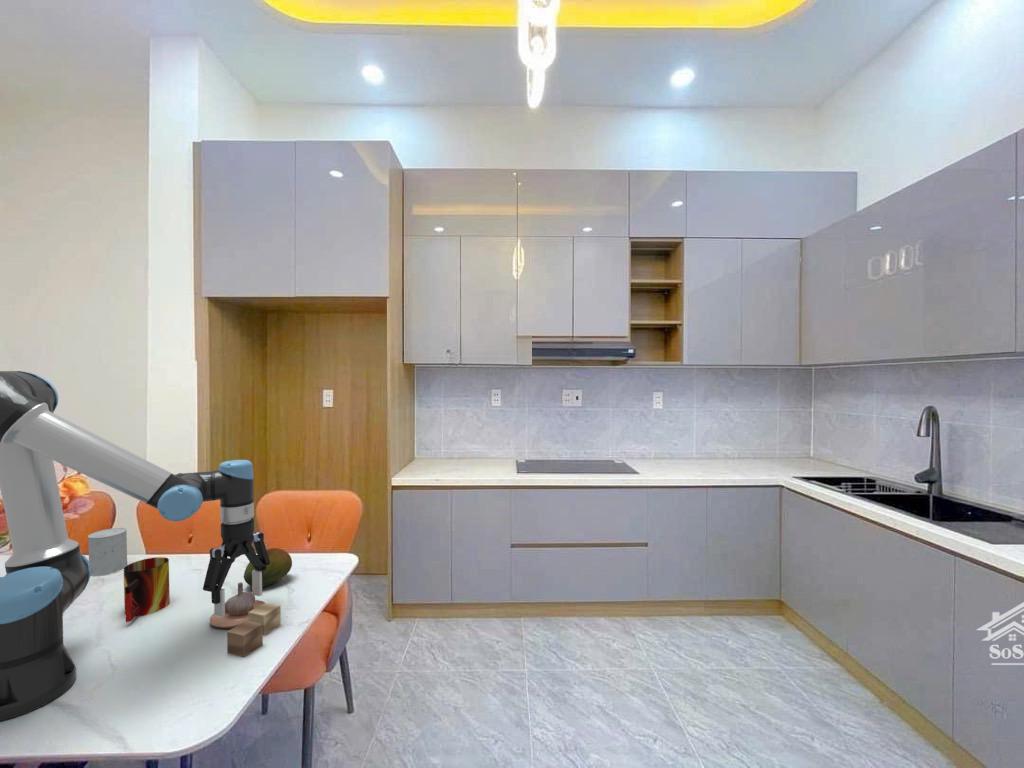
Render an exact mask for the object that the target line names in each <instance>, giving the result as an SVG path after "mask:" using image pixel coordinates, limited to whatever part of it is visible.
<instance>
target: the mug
mask: <svg viewBox="0 0 1024 768" xmlns="http://www.w3.org/2000/svg"><path fill="white" fill-rule="evenodd" d="M169 562H170V559H169V558H168V557H164V556H157V557H149V558H143V559H140V560H136V561H134V562H131V563H129V564H127V566H125V567H124V570H123V590H124V592H123V593H124V595H123V596H124V597H123V598H124V599H123V600H124V616H125V622H126V623H129V622H131V621H133V620H134V619H135V617H144V616H147V615H151V614H154V613H157V612H159V611H161V610H164V609H165V608H166V607H168V606H169V605H170V602H171V601H170V600H171V598H170V595H171V594H170V563H169Z"/></svg>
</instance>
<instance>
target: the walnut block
mask: <svg viewBox="0 0 1024 768" xmlns="http://www.w3.org/2000/svg"><path fill="white" fill-rule="evenodd" d="M263 636H264V635H263V630H262V624H260V623H255V622H251V621H247V620H246V621H245V622H243V623H241V624H239V625H238V626H236V627H234V628H230V629H228V630H227V631H226V642H227V643H226V647H227V649H226V650H227V654H230V655H234V656H237V657H241V658H246V657H247V656H249V655H250V654H252V653H253V652H254V651H256V650H258V649H259V648H261V647H262V646H264V642H263V641H264V639H263Z"/></svg>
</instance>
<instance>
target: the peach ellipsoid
mask: <svg viewBox="0 0 1024 768" xmlns="http://www.w3.org/2000/svg"><path fill="white" fill-rule="evenodd" d="M264 603H266V602H265V601H263V600H258V599H257V600H256V599H255V603H254V605H253V606H254V608H253V609H255V608H257V607H258V606H260V605H262V604H264ZM246 620H247V621H248V614H244V615H230V614H225V615H224V616H219V615H214V613H213V614H211V616H210V617H209V623H210V625H211V626H213V627H215V628H220V629H232V628H234V627H236V626H238V625H239V624H241V623H243V622H245V621H246Z"/></svg>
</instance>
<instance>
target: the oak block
mask: <svg viewBox="0 0 1024 768" xmlns="http://www.w3.org/2000/svg"><path fill="white" fill-rule="evenodd" d="M281 611H282V610H281V605H279V604H274V603H269V602H265V603H264V604H262V605H260V606H258V607H257V608H255V609H253V610H251V611H249V612H248V621H251V622H255V623H260V624H262V630H263V636H266V635H267V634H269V633H271V632H272V631H273V630H275V629H277V628H278V627H280V626H281V625H282V623H281V622H282V621H281V620H282V619H281V618H282V617H281V615H282V613H281Z"/></svg>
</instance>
